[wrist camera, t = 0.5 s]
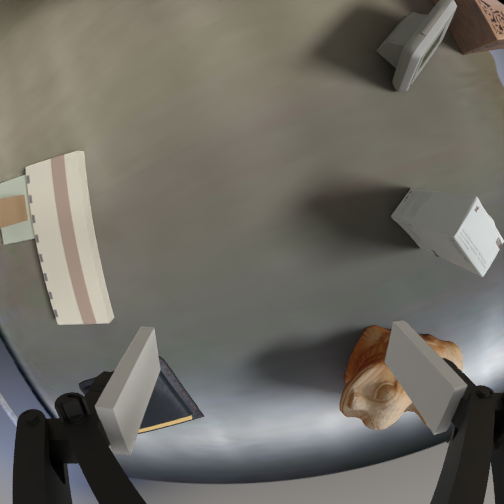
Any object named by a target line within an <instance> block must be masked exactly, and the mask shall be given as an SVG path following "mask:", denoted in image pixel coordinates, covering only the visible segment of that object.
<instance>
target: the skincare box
mask: <svg viewBox="0 0 504 504" xmlns="http://www.w3.org/2000/svg"><path fill="white" fill-rule="evenodd" d="M391 218H392V219H393V220H394V221H396V222H397V223H398V224H399V225H400V226H401V227H402V228H403V229H404V230H405V231H406V232H407V233H408V234H409V235H410V237H411V238H412V239H413V240H414V241H415V242H416V244H417V245H418V246H419V247H420V249H422V250H424V251H426V252H429V253H431V254H433V255H435V256H438V257H440V258H442V259H444V260H447V261H449V262H451V263H453V264H455V265H458V266H460V267H462V268H465V269H467V270H469V271H471V272H473V273H475V274H477V275H479V276H481V277H483V276H484V275H485V273H486V272H487V270H488V268H489V267H490V265H491V263H492V262H493V260H494V258H495V257H496V255H497V253H498V251H499V249H500V248H501V246H502V244H503V242H504V240H503V238H502V237H501V235H500V234H499V232H498V230H497V229H496V227H495V223H494V221H493V219H492V218H491V217H490V216H489V215H488V214H487V213H486V211H485V209H484V208H483V206H482V204H481V203H480V201H479V199H478V197H476V196H470V195H463V194H456V193H449V192H442V191H435V190H426V189H419V188H411V189H410V190H409V192H408V193H407V194H406V196H405V197H404V199H403V200H402V201H401V203H400V204H399V205H398V207H397V208H396V209H395V211H394V212H393V213H392V215H391Z"/></svg>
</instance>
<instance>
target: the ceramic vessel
mask: <svg viewBox="0 0 504 504" xmlns="http://www.w3.org/2000/svg"><path fill="white" fill-rule="evenodd" d="M390 335H391V330H387V329H384V328H381V327H379V326H376V325H372V326H370V327H368V328H367V329H366V330H365V331H364V332H363V334H362V336H361V337H360V339H359V340H358V342H357V344H356V346H355V347H354V350H353V352H352V354H351V357H350V360H349V363H348V366H347V370H346V373H345V376H344V381H345V383H346V386H345V388H344V390H343V393H342V396H341V400H340V411H341V412H342V413H343V414H344V415H345V416H346V417H357V418H360V419H361V420H362V421H363V423H364V424H365V426H367V427H368V428H370V429H374V430H382V429H385V428H387V427H389V426H390V425H392V424H393V423H394V422H395V421H397V420H398V419H399V417H400V416H401V415H402V413H403V412H406V411H411V412H416V413H417V414H418V415H419V417H420V418H421V420H422V421H423V423H424V424H425V425H426V426H427V427H429V426H428V425H427V423H426V422H425V420H424V419H423V417H422V416H421V414H420V413H419V411H418V410H417V408H416V407H415V405H414V404H413V402H412V401H411V400H410V398H409V397H408V395H407V394H406V392H405V391H404V389H403V388H402V386H401V385H400V384H399V382H398V381H397V379H396V378H395V376H394V375H393V373H392V372H391V371H390V369H389V368H388V366H387V365H386V363H385V362H384V361H385V357H386V353H387V349H388V344H389V339H390ZM419 335H420V334H419ZM420 336H421V337H422V338H423V339H424V340H425V341H426V342H427V343H428V345H429V346H430V347H431V348H432V349H433V350H434V351H435V352H436V353H437V354H438V355H439V356H440V357H441V358H446V359H448V360H450V361H452V362H453V363H454V364H455V365H456V366H457V367H458V369H460V370H461V371H462V368H463V366H462V360H463V358H462V353H461V350H460V349H459V347H458V346H457V345H456V344H454V343H453V342H450V341H443V340H439V339H437V338H435V337H434V336H432V335H429V334H424V335H420Z"/></svg>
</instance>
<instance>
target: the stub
mask: <svg viewBox="0 0 504 504" xmlns="http://www.w3.org/2000/svg"><path fill="white" fill-rule="evenodd" d="M0 228H1V232H2V237H3V242H4V245H5V244H10V243H15V242H20V241H25V240H30V239H35V234H34V228H33V223H32V217H31V210H30V203H29V196H28V188H27V178H26V174H25V175H23V176H20V177H17V178H14V179H11V180H8V181H5V182H3V183H0Z"/></svg>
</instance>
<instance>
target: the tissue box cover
mask: <svg viewBox="0 0 504 504" xmlns="http://www.w3.org/2000/svg"><path fill="white" fill-rule="evenodd" d="M432 1H433V3H434V5H436V4H437V3H438V1H439V0H432ZM454 1H455V3H456V5H457V8H456V11H455V13H454V15H453V18H452V20H451V22H450V24H449V27H448V28H449V30H450V31H451V33H452V35H453V37H454V39H455V41H456V42H457V44H458V46H459V48H460V50H461V52H462V54H463V55H464V54H470V53H476V52H482V51H488V50H496V49H504V0H454Z"/></svg>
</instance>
